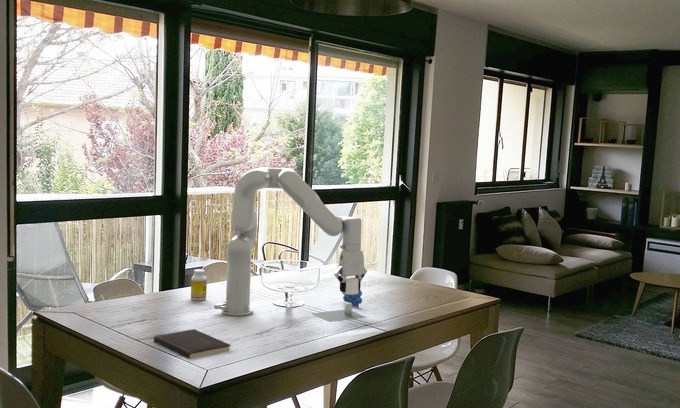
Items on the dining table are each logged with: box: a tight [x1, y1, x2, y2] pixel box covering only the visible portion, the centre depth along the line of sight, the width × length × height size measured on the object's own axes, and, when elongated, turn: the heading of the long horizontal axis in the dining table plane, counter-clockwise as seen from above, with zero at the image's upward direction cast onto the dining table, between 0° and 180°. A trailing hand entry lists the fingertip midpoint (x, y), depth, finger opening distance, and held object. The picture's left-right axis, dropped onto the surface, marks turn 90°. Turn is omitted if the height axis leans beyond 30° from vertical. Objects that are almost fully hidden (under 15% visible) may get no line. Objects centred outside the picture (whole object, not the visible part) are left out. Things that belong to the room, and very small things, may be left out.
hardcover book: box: [153, 328, 232, 359], centre depth 231 cm, size 16×23×2 cm
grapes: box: [341, 289, 363, 308], centre depth 294 cm, size 12×7×12 cm, turn 47°
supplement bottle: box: [190, 268, 208, 302], centre depth 296 cm, size 7×7×13 cm
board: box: [310, 302, 367, 323], centre depth 274 cm, size 18×14×6 cm
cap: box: [341, 276, 359, 295], centre depth 276 cm, size 6×6×6 cm
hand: (350, 290), depth 276 cm, fingers closed on cap, 6 cm apart
